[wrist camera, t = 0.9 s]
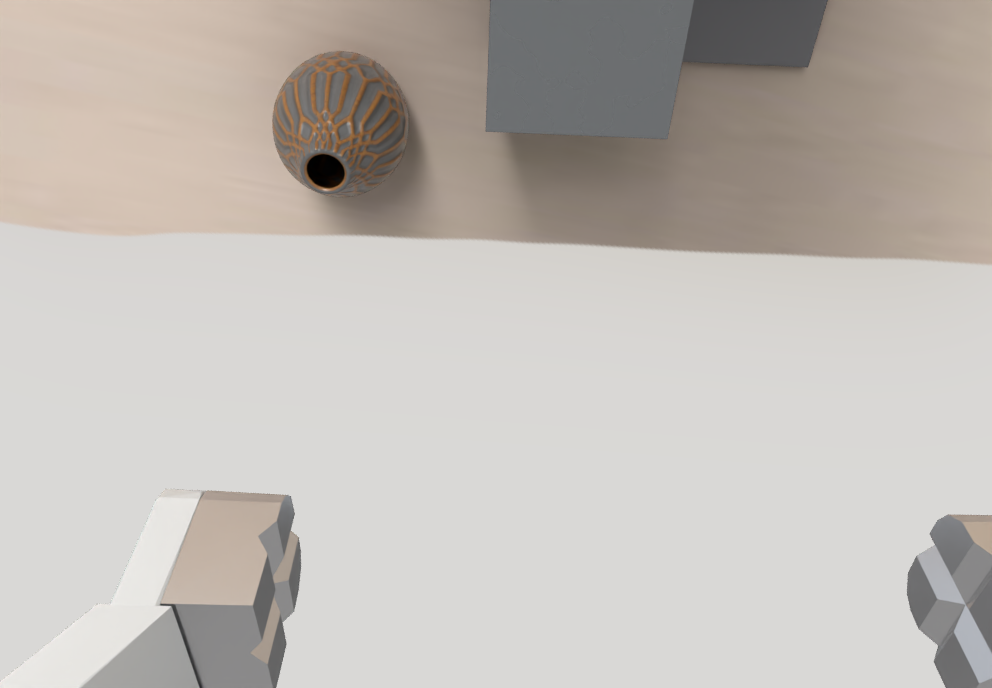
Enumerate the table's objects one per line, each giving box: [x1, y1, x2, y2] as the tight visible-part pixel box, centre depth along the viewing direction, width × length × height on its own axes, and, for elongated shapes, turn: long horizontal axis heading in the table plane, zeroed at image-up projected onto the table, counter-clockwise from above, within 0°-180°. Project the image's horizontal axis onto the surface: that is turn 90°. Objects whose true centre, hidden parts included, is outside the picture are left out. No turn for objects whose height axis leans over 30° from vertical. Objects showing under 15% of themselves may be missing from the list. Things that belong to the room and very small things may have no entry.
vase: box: [272, 51, 409, 197], centre depth 41 cm, size 7×7×9 cm
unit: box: [486, 0, 694, 139], centre depth 37 cm, size 8×8×10 cm
